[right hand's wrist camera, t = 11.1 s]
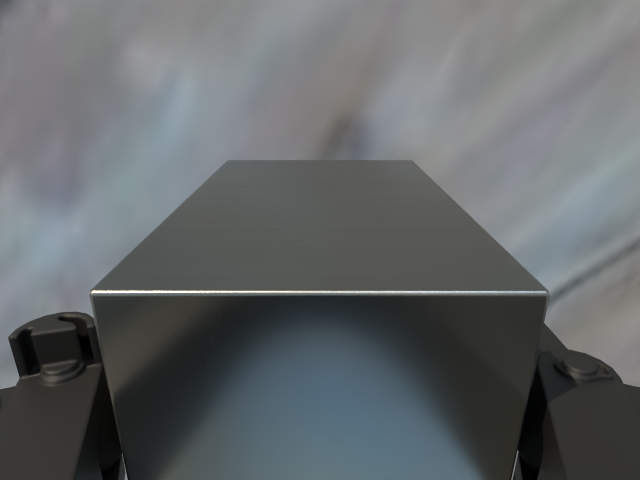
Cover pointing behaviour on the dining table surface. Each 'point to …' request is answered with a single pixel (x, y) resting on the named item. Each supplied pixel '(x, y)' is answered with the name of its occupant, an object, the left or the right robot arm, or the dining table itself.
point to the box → (319, 331)
